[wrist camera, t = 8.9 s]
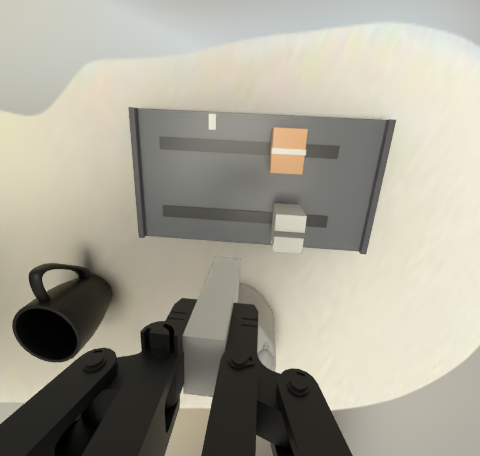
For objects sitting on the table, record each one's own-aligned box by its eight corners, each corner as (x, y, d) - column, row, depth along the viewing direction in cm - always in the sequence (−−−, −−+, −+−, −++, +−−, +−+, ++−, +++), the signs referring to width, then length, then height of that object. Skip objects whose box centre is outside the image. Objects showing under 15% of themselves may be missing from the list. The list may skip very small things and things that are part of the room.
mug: (113, 243, 37) (65, 276, 28) (124, 315, 41) (86, 365, 32) (57, 241, 37) (-8, 273, 28) (74, 312, 41) (21, 360, 32)
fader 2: (270, 234, 32) (272, 252, 27) (273, 202, 31) (275, 215, 26) (295, 236, 32) (302, 254, 27) (300, 204, 30) (307, 217, 25)
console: (148, 230, 36) (138, 237, 33) (139, 110, 31) (128, 107, 28) (357, 245, 34) (366, 254, 31) (383, 121, 29) (396, 119, 27)
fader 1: (268, 167, 29) (269, 173, 24) (271, 129, 28) (273, 127, 23) (295, 169, 29) (303, 175, 24) (300, 130, 28) (309, 128, 23)
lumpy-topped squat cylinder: (206, 353, 42) (193, 405, 34) (202, 281, 38) (185, 320, 30) (271, 356, 41) (274, 410, 33) (274, 283, 37) (278, 324, 29)
